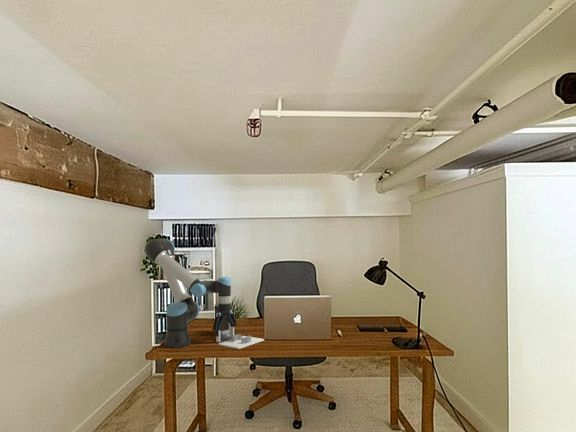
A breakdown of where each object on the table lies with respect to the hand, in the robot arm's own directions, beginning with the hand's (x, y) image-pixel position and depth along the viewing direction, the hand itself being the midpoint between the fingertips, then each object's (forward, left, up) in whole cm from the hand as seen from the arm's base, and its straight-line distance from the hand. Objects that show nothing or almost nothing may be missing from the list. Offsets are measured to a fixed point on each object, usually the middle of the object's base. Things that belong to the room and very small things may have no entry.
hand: (225, 339), depth 260 cm
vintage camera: (+13, +13, -1) cm, 18 cm away
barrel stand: (0, -13, 0) cm, 13 cm away
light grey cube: (0, 0, 0) cm, 0 cm away
